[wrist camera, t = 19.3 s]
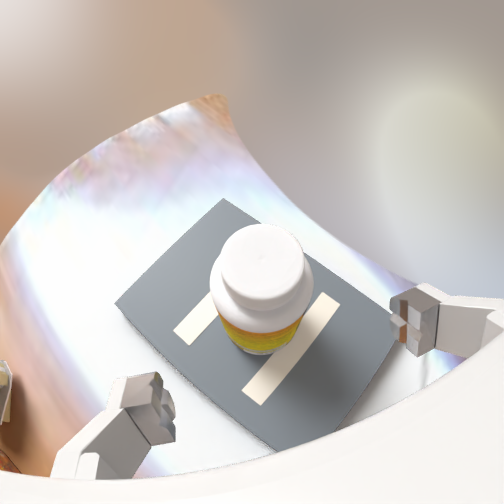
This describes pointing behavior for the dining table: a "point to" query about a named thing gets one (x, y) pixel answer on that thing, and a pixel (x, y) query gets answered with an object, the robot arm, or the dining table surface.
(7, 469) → the tin
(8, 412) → the pale yellow block
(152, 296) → the gray board
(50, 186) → the dining table surface
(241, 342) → the supplement bottle
